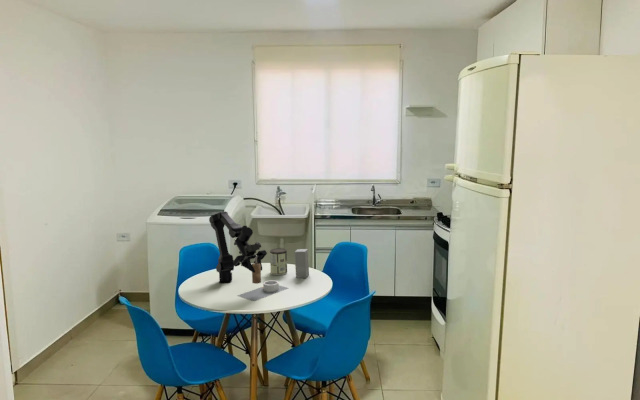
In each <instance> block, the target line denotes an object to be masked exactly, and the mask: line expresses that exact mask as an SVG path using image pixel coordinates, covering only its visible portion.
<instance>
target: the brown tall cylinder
mask: <svg viewBox="0 0 640 400" xmlns="http://www.w3.org/2000/svg"><path fill="white" fill-rule="evenodd" d="M254 261H255V263H254V262H253V263H251V264H252V266H253V268H254V270H255V273H253V272H252V271H251V278H252V279H251V282H252V284H256V285H258V284H261V283H262V271H261V264H262V263H261V264H260V263H257V257H255V260H254Z"/></svg>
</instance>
